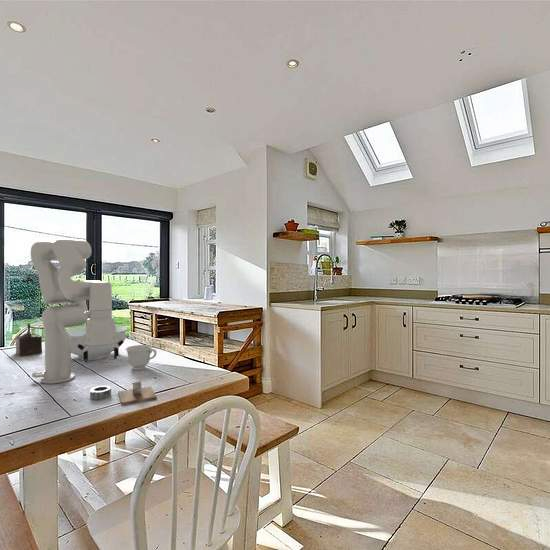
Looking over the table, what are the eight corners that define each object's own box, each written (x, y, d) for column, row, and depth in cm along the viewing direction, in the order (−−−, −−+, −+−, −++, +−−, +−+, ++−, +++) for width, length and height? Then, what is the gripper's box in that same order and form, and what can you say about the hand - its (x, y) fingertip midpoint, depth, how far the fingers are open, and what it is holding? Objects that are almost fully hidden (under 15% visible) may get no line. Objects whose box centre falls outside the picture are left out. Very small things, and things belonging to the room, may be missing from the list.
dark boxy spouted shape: (19, 357, 183) (19, 323, 183) (15, 353, 191) (15, 320, 190) (53, 352, 195) (53, 320, 194) (48, 348, 202) (47, 317, 202)
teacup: (149, 373, 158) (149, 351, 158) (120, 371, 161) (120, 349, 161) (162, 366, 170) (162, 346, 170) (135, 364, 173) (135, 344, 173)
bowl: (69, 351, 197) (69, 325, 197) (130, 347, 206) (130, 323, 206) (50, 367, 166) (49, 337, 166) (123, 362, 175) (123, 334, 175)
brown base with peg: (121, 405, 123) (121, 389, 123) (118, 394, 133) (118, 379, 133) (156, 399, 129) (156, 384, 128) (150, 388, 139) (150, 375, 139)
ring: (90, 401, 126) (90, 393, 125) (89, 395, 132) (89, 387, 132) (111, 398, 129) (111, 390, 129) (110, 392, 135) (110, 384, 135)
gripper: (73, 317, 122) (74, 365, 122) (126, 314, 130) (127, 359, 131) (74, 314, 128) (74, 360, 129) (124, 311, 137) (125, 354, 137)
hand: (101, 359), depth 130 cm, fingers open, 9 cm apart
